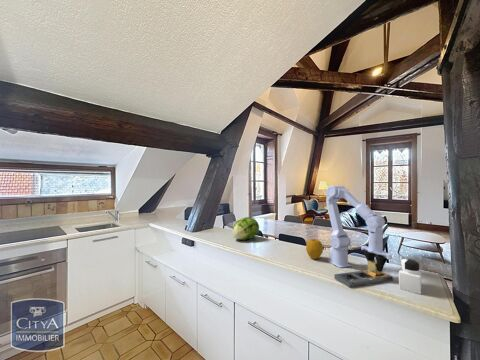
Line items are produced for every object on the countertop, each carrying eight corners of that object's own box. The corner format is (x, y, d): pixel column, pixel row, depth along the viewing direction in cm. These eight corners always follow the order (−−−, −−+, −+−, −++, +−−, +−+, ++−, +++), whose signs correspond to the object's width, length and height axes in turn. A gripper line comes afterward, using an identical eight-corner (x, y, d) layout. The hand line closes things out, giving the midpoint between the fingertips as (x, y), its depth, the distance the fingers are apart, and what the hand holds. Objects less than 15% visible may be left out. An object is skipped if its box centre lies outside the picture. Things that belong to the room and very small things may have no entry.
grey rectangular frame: (334, 278, 98) (334, 273, 98) (375, 272, 105) (375, 268, 105) (349, 287, 89) (349, 282, 89) (392, 280, 96) (392, 275, 96)
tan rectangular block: (367, 275, 100) (367, 260, 100) (374, 274, 101) (373, 259, 101) (375, 278, 96) (375, 263, 96) (381, 277, 97) (381, 262, 98)
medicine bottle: (421, 288, 89) (420, 260, 90) (420, 294, 84) (420, 265, 84) (400, 283, 94) (400, 256, 94) (398, 288, 89) (398, 260, 89)
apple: (324, 262, 118) (324, 241, 119) (307, 260, 120) (307, 240, 121) (321, 256, 128) (321, 237, 128) (305, 255, 130) (305, 236, 130)
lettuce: (223, 229, 166) (236, 218, 155) (241, 220, 184) (254, 210, 173) (235, 249, 161) (249, 239, 150) (252, 238, 179) (266, 229, 168)
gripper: (356, 237, 105) (356, 264, 105) (383, 245, 91) (383, 276, 91) (367, 236, 107) (367, 263, 107) (395, 244, 93) (395, 274, 93)
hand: (375, 269), depth 99 cm, fingers closed on tan rectangular block, 4 cm apart
